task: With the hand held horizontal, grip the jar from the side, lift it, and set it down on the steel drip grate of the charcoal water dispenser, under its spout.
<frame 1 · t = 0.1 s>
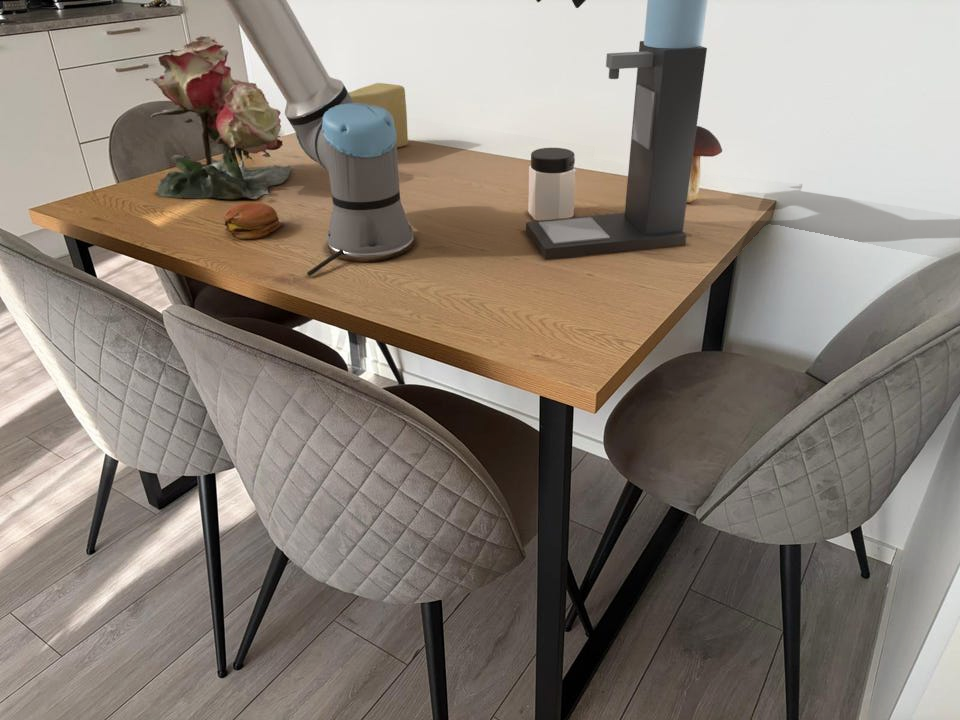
hand: (561, 0, 141), 36 cm above the table, tool tilted 35°, fingers open, 13 cm apart
burger: (253, 232, 138), on the table
jar: (550, 215, 142), on the table
cheese: (367, 154, 182), on the table
rose bouquet: (236, 182, 165), on the table
decorative mushroom: (685, 203, 147), on the table
water dispenser: (572, 241, 131), on the table
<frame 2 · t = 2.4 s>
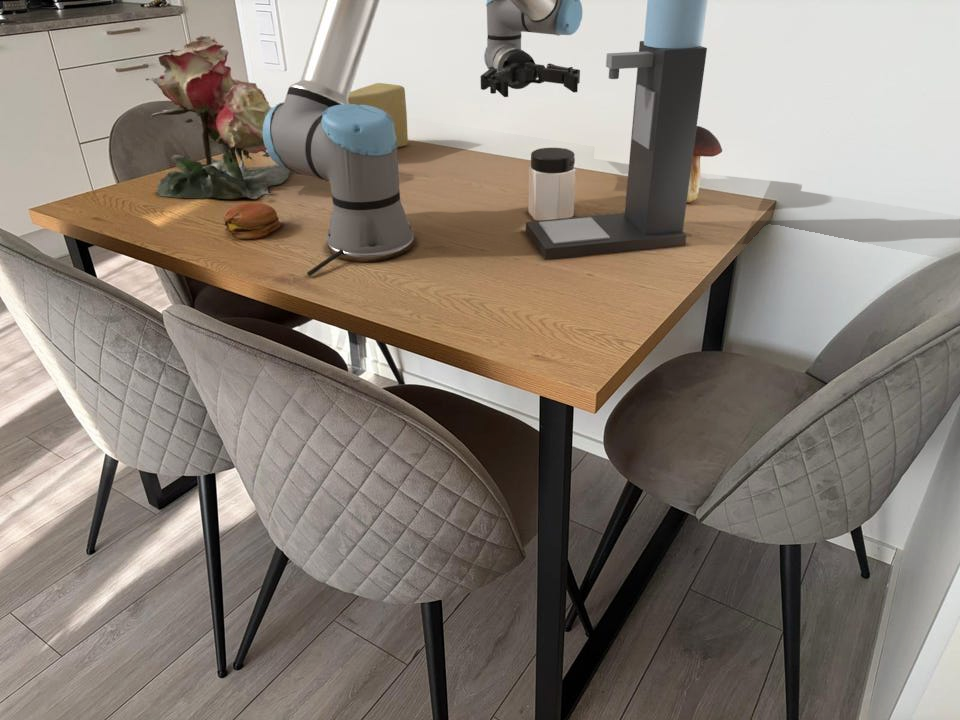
hand: (541, 87, 138), 22 cm above the table, tool horizontal, fingers open, 13 cm apart
nothing on the table moved.
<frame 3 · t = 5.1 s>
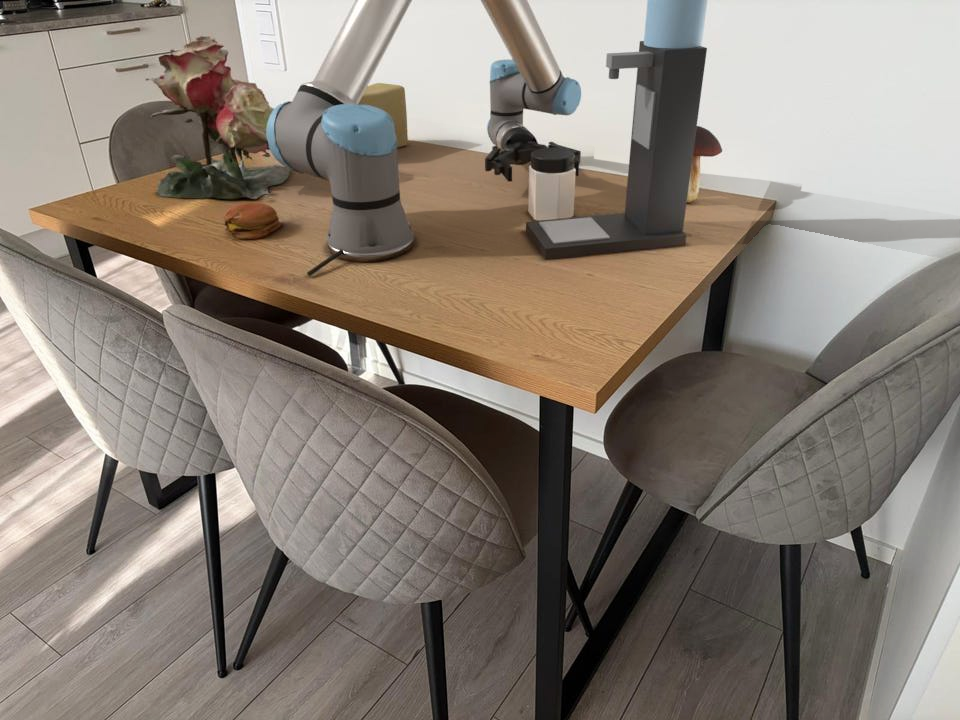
hand: (543, 172, 143), 7 cm above the table, tool horizontal, fingers open, 13 cm apart
nothing on the table moved.
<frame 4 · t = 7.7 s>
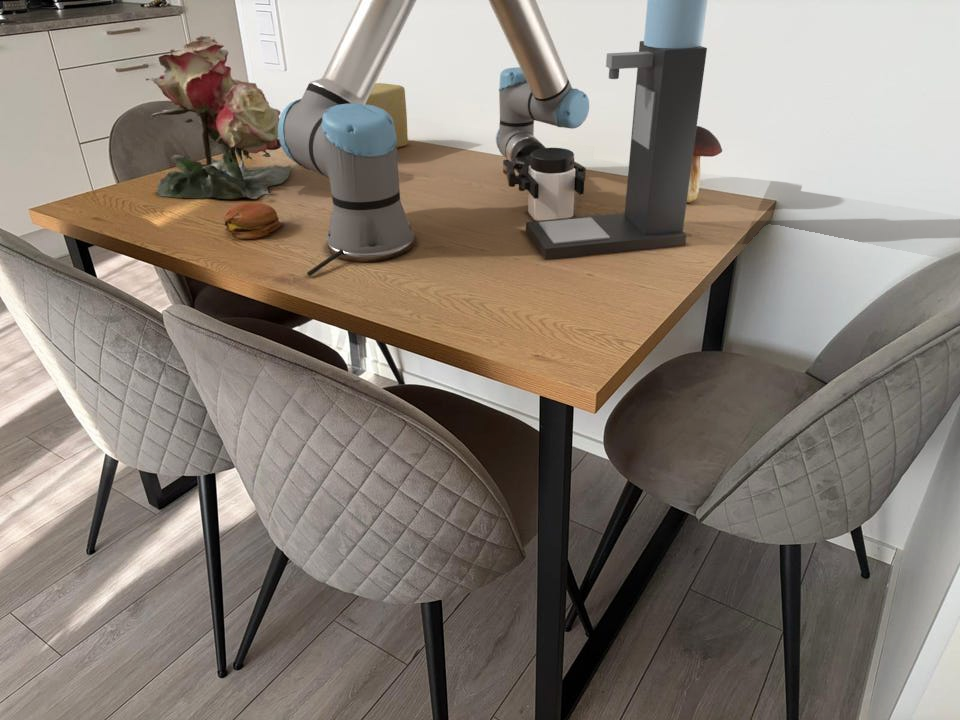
hand: (559, 189, 135), 7 cm above the table, tool horizontal, fingers closed on jar, 8 cm apart
jar: (550, 215, 142), on the table, touching gripper
everything else where it was.
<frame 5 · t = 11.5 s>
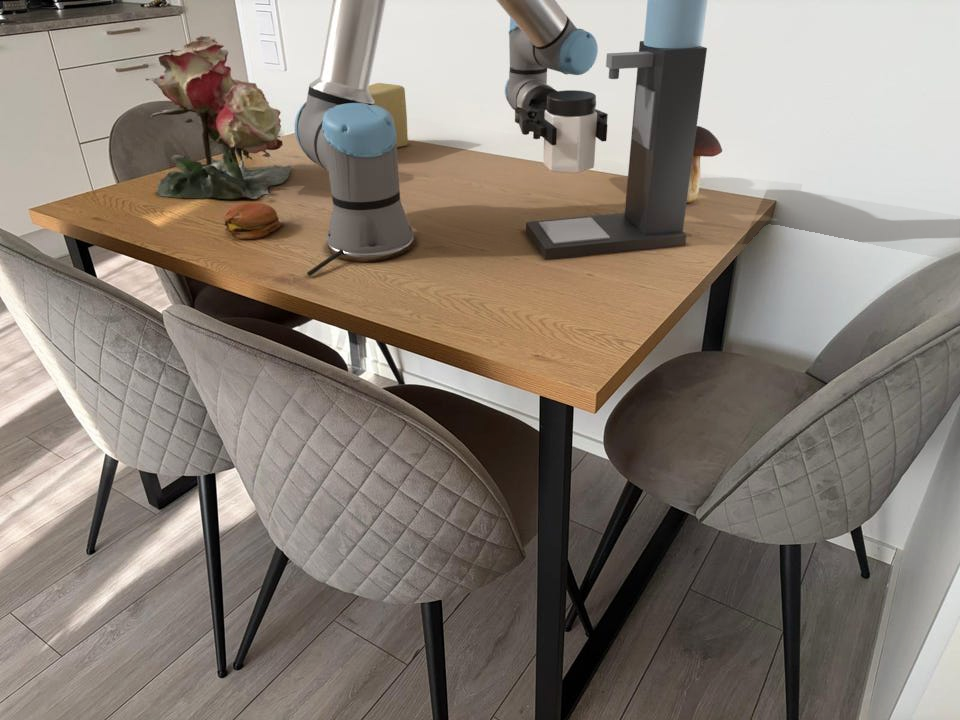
hand: (579, 134, 121), 19 cm above the table, tool horizontal, fingers closed on jar, 8 cm apart
jar: (568, 167, 128), point 12 cm above the table, touching gripper
everything else where it was.
when the fingers open (9 cm above the table, at t = 15.3 s): jar stays where it is, resting on water dispenser.
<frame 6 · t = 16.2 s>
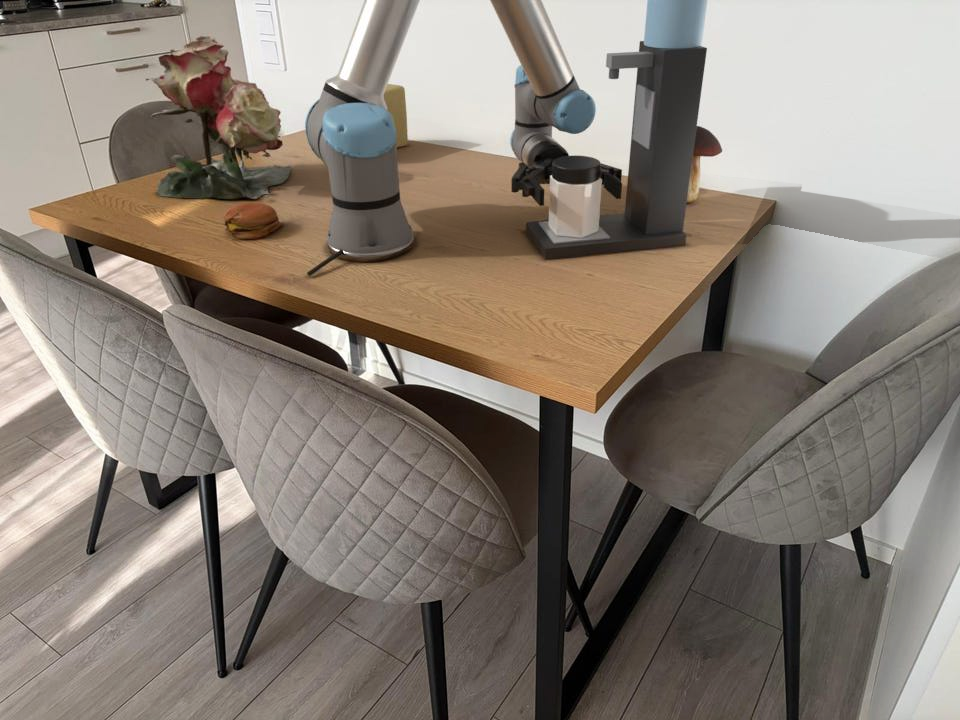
hand: (581, 194, 123), 10 cm above the table, tool horizontal, fingers open, 13 cm apart
jar: (573, 230, 129), point 2 cm above the table, touching water dispenser
everything else where it was.
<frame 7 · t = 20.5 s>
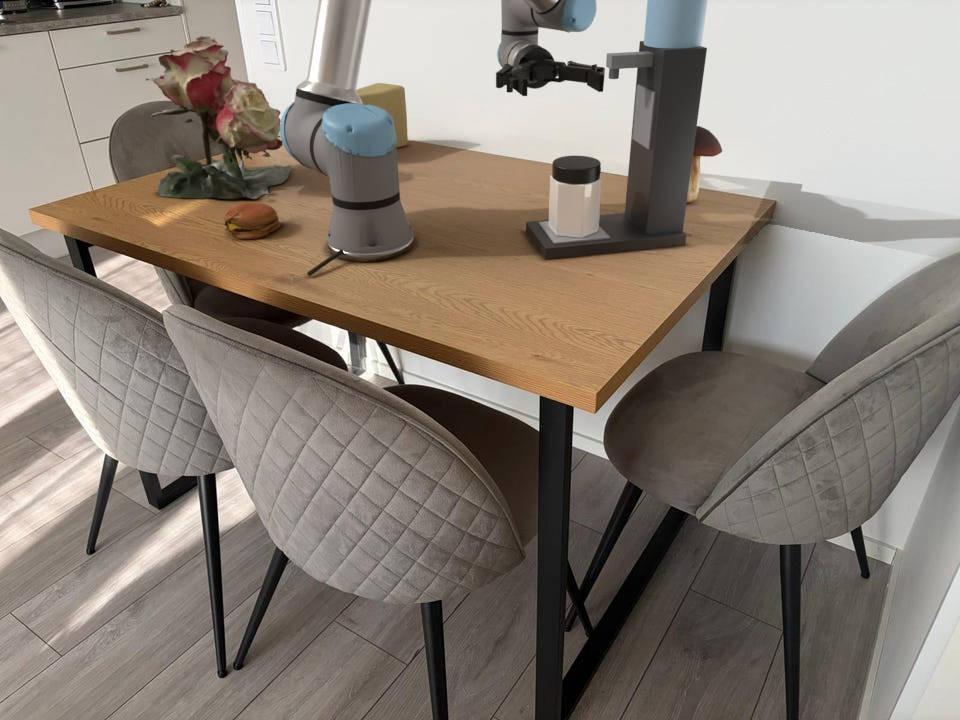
hand: (563, 85, 125), 25 cm above the table, tool horizontal, fingers open, 13 cm apart
nothing on the table moved.
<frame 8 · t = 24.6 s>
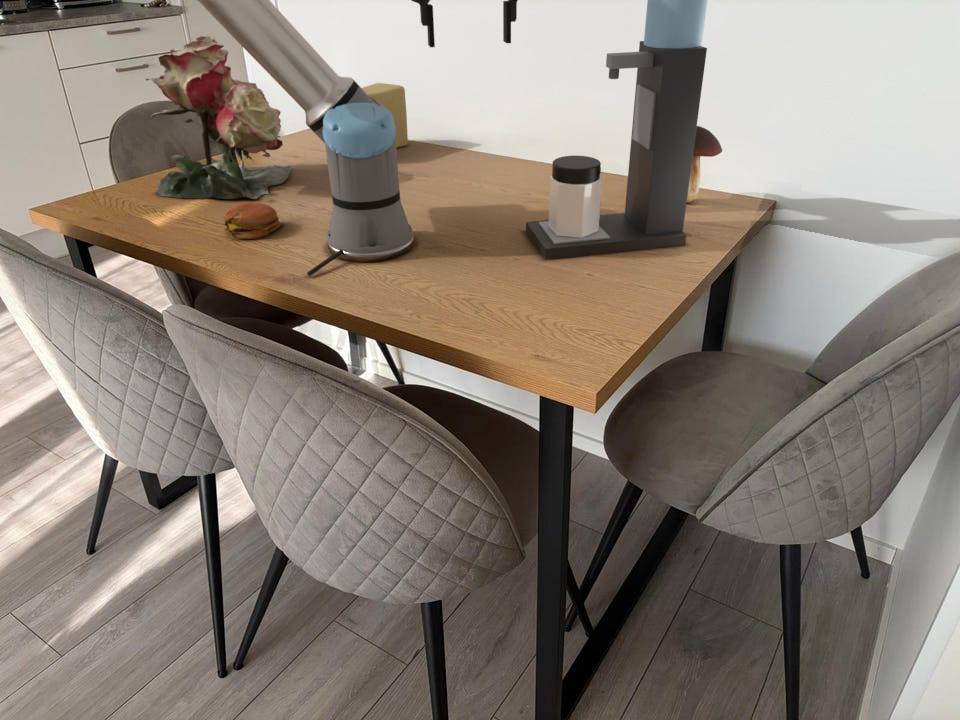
hand: (469, 44, 129), 31 cm above the table, tool pointing down, fingers open, 13 cm apart
nothing on the table moved.
at the end: jar inside the target area on the water dispenser (0.0 cm from its centre), point 2.1 cm above the water dispenser's base; jar tilted 0°; the gripper is holding nothing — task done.
